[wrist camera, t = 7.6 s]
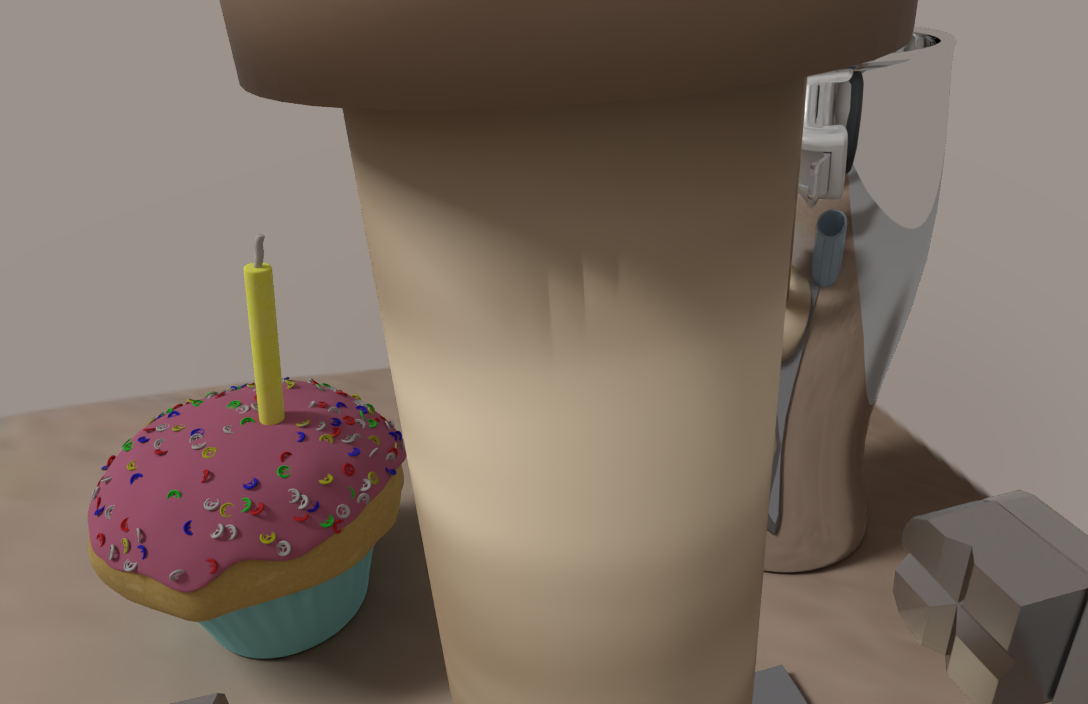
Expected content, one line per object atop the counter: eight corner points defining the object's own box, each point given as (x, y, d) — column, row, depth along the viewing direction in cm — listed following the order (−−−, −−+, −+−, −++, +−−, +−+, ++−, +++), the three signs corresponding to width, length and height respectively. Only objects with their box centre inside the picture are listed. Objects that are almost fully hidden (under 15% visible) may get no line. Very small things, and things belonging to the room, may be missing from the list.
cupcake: (446, 511, 28) (392, 179, 22) (392, 725, 20) (288, 306, 15) (214, 515, 29) (104, 194, 23) (79, 723, 21) (-134, 323, 15)
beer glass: (831, 442, 30) (885, 16, 23) (921, 573, 24) (1033, 45, 17) (650, 459, 30) (647, 35, 23) (693, 596, 23) (708, 72, 16)
